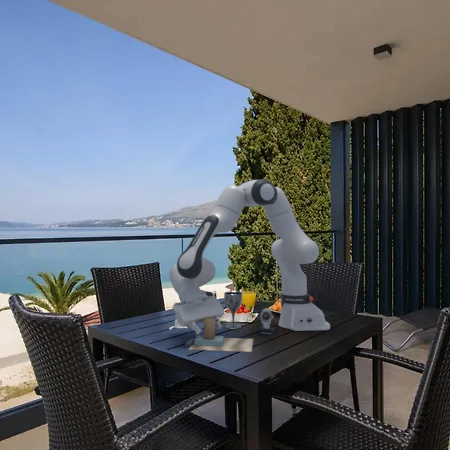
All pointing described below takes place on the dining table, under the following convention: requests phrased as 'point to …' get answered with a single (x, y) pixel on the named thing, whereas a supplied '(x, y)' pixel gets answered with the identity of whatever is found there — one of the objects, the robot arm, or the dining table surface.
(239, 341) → the pine board
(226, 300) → the wine glass
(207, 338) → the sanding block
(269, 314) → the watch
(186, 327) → the grey hub with arms
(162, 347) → the dining table surface
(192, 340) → the graphite chip
